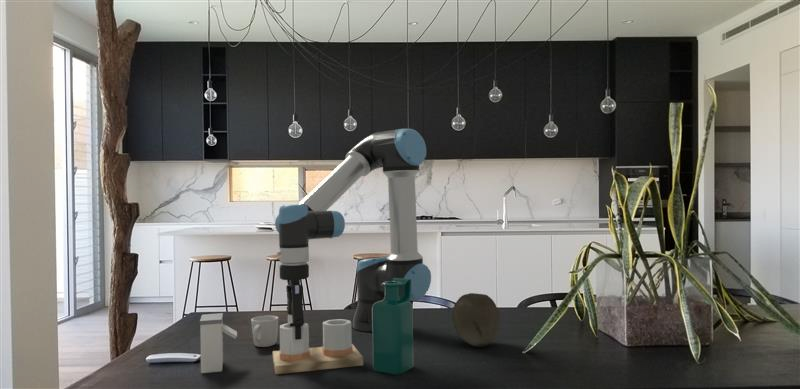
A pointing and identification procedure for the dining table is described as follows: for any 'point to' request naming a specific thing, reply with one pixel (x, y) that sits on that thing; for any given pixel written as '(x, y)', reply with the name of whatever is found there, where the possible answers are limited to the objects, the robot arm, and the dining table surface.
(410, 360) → the green square bottle
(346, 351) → the sleeve seated
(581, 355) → the dining table surface
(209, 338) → the box
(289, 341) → the sleeve
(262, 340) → the cup
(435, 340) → the dining table surface
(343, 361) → the pin board
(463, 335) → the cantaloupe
